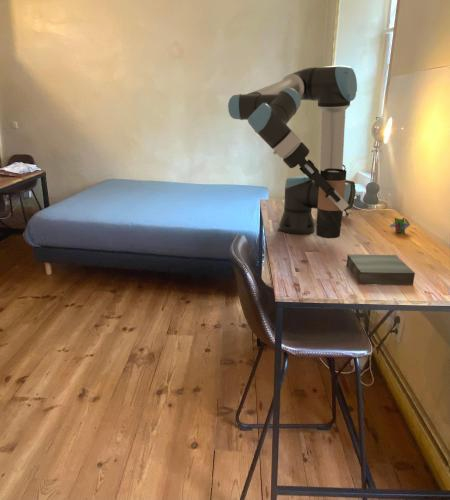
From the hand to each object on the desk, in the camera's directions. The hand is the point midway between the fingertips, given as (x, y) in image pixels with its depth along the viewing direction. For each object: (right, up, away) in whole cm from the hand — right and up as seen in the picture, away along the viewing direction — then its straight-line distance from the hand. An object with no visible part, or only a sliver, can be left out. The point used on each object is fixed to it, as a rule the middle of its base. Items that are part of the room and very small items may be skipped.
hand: (341, 204), depth 129 cm
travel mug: (-3, -9, +3) cm, 10 cm away
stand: (+13, -22, +7) cm, 26 cm away
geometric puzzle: (+38, -7, +52) cm, 65 cm away
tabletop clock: (+18, +3, +79) cm, 81 cm away
